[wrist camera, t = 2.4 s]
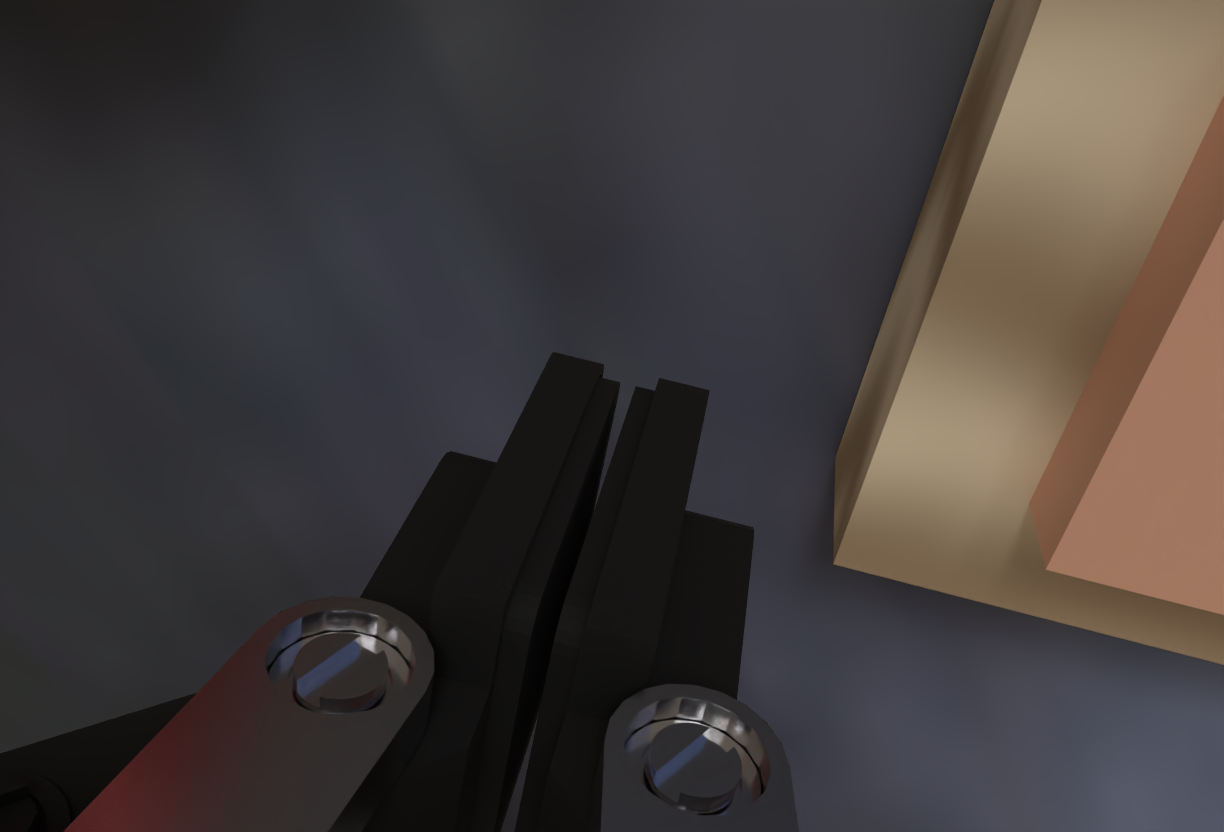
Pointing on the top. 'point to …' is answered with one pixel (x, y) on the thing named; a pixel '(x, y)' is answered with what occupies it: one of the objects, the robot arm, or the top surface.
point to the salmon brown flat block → (1153, 419)
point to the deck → (1025, 303)
